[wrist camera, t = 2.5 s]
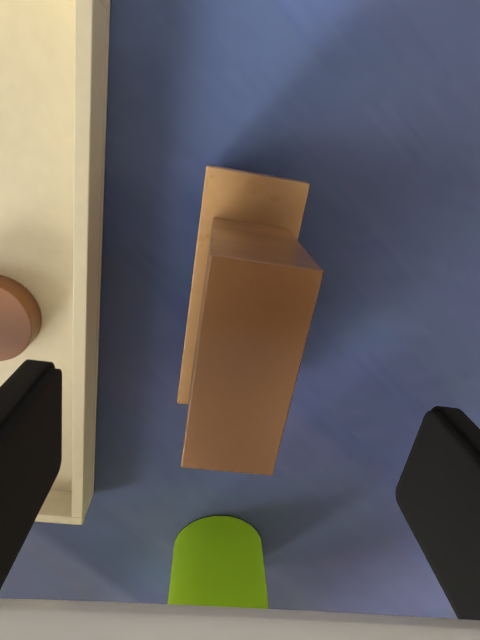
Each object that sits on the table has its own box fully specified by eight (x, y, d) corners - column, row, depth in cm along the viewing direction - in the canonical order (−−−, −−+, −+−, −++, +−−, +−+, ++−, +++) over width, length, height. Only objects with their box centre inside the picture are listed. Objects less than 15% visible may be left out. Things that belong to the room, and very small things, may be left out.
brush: (182, 371, 22) (159, 508, 13) (208, 162, 18) (199, 175, 9) (254, 379, 22) (276, 517, 14) (296, 178, 18) (362, 203, 10)
